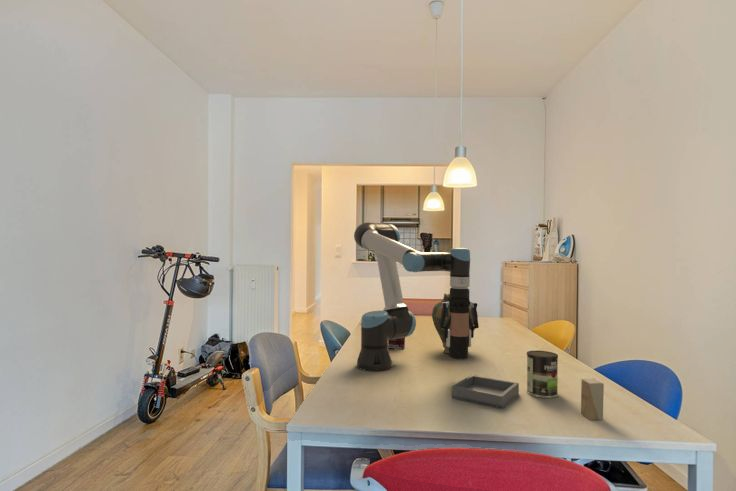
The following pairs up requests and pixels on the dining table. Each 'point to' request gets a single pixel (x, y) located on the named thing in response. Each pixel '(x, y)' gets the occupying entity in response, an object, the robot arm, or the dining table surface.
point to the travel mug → (459, 332)
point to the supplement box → (397, 343)
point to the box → (592, 399)
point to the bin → (485, 391)
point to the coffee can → (542, 374)
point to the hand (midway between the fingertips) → (458, 346)
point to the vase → (437, 315)
